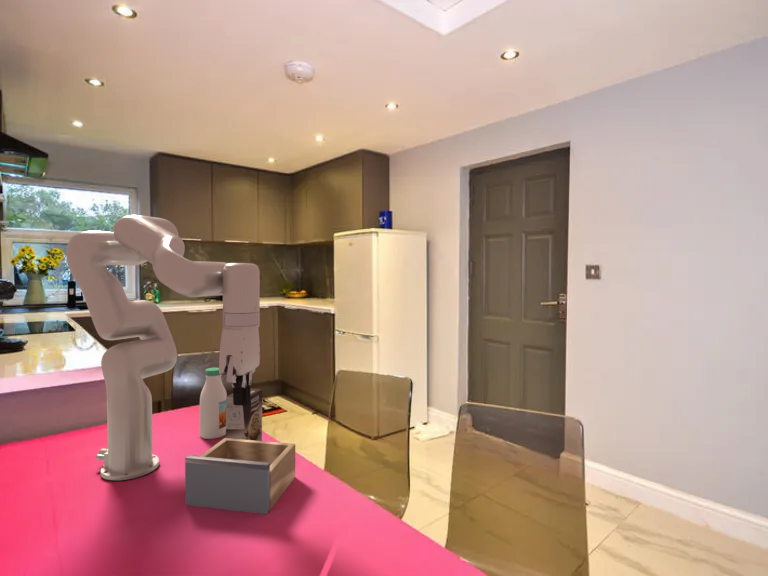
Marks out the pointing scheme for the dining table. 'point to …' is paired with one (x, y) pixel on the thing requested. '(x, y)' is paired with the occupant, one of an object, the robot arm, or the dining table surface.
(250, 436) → the coffee box
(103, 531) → the dining table surface
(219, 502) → the panel
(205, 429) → the milk bottle
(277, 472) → the crate
